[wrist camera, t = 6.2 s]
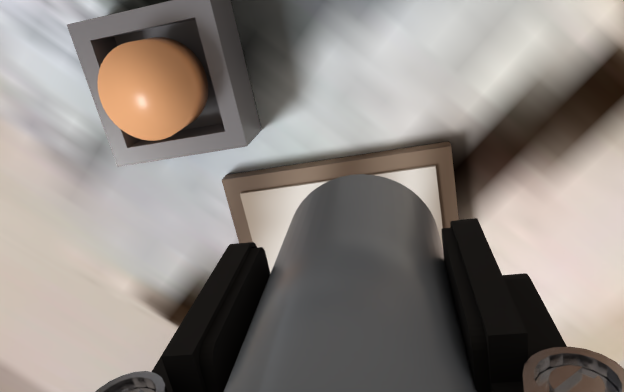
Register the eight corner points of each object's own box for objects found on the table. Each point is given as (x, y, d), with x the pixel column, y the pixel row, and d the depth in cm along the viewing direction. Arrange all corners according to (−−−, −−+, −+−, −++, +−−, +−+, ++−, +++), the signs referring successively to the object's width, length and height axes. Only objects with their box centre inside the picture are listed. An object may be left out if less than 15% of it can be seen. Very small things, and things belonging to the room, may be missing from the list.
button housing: (228, -8, 28) (207, -8, 24) (261, 130, 30) (246, 146, 27) (101, 21, 29) (66, 24, 26) (144, 149, 32) (117, 166, 29)
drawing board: (449, 141, 29) (451, 147, 28) (468, 324, 34) (470, 335, 32) (226, 174, 32) (220, 181, 31) (271, 339, 36) (268, 349, 35)
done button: (193, 28, 26) (175, 31, 24) (218, 121, 28) (203, 132, 25) (109, 46, 27) (83, 51, 25) (138, 134, 29) (116, 147, 26)
